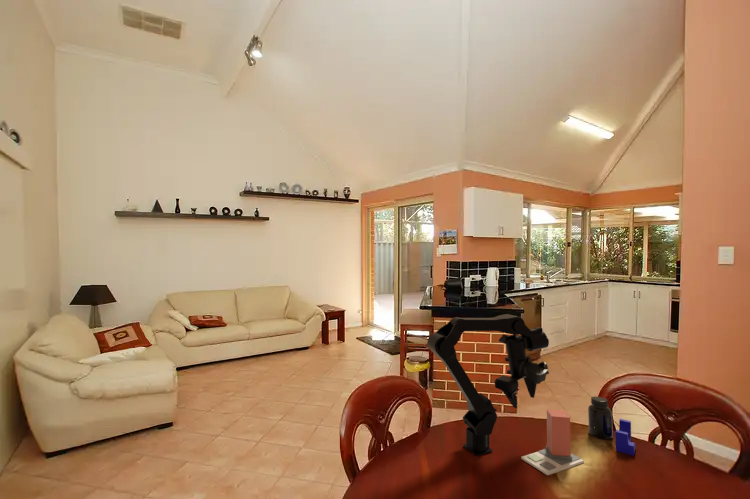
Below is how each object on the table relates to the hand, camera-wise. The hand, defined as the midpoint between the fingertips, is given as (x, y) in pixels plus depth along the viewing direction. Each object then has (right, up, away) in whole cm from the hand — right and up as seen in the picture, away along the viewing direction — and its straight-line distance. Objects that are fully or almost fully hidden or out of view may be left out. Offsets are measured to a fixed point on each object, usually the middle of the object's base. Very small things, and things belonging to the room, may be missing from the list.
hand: (524, 402), depth 114 cm
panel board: (+4, -13, -10) cm, 17 cm away
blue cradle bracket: (+32, -14, -1) cm, 35 cm away
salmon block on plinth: (+7, -12, -8) cm, 16 cm away
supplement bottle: (+28, -14, +6) cm, 32 cm away
